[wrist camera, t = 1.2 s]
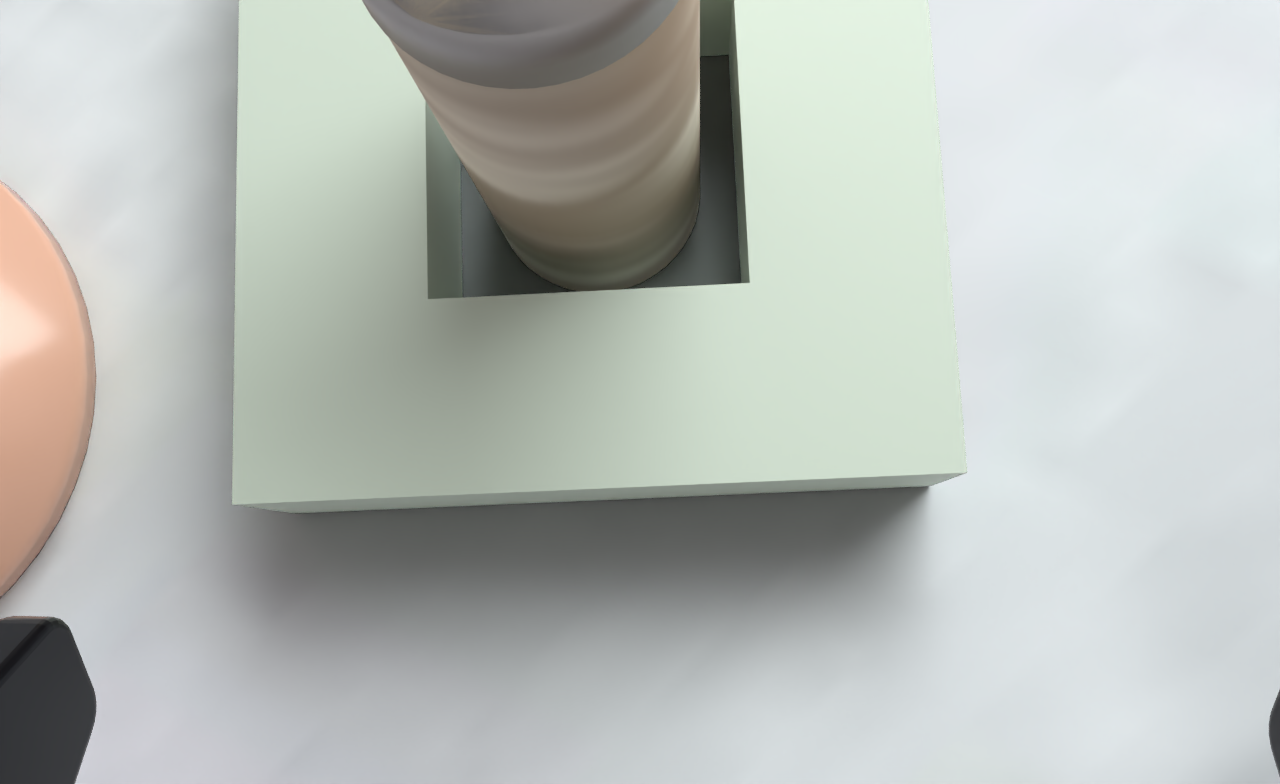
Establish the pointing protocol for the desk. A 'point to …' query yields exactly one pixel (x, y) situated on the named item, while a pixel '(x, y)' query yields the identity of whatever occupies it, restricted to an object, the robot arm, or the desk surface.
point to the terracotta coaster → (38, 384)
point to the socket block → (591, 320)
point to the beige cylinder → (567, 123)
